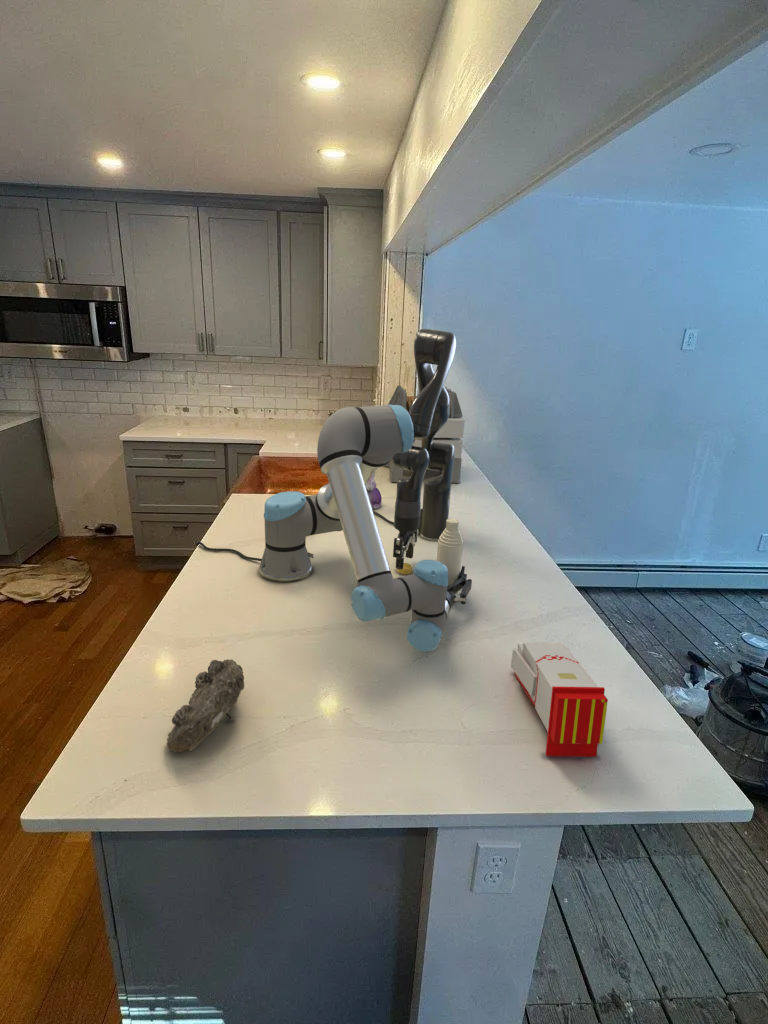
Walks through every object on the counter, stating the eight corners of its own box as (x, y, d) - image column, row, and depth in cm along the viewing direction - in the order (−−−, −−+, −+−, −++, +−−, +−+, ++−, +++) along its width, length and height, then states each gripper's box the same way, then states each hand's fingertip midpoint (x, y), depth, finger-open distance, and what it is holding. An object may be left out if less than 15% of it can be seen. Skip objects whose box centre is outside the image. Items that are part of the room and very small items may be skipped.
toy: (559, 625, 127) (617, 695, 97) (554, 680, 130) (608, 764, 100) (506, 624, 126) (547, 694, 97) (501, 679, 129) (540, 763, 100)
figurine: (365, 511, 219) (366, 474, 214) (354, 503, 228) (355, 467, 223) (387, 509, 223) (388, 472, 218) (375, 501, 232) (377, 465, 227)
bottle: (454, 592, 160) (463, 516, 152) (458, 604, 154) (467, 525, 146) (431, 591, 160) (438, 515, 152) (434, 603, 154) (441, 524, 146)
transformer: (382, 463, 289) (386, 382, 275) (445, 464, 293) (451, 384, 279) (390, 482, 257) (394, 392, 243) (460, 483, 261) (468, 394, 247)
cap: (394, 572, 171) (394, 566, 170) (400, 566, 175) (401, 561, 174) (407, 575, 169) (408, 570, 168) (413, 570, 173) (414, 564, 172)
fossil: (192, 660, 117) (244, 628, 112) (224, 691, 120) (276, 661, 115) (142, 746, 98) (202, 712, 93) (182, 779, 101) (242, 748, 96)
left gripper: (395, 613, 142) (415, 575, 163) (473, 627, 137) (483, 586, 158) (396, 586, 139) (416, 551, 160) (476, 600, 135) (486, 561, 156)
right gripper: (403, 503, 173) (401, 552, 178) (386, 518, 160) (384, 569, 166) (427, 507, 170) (423, 556, 176) (411, 522, 158) (408, 575, 163)
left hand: (449, 568), depth 159 cm, fingers closed on bottle, 7 cm apart
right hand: (404, 563), depth 171 cm, fingers open, 8 cm apart
